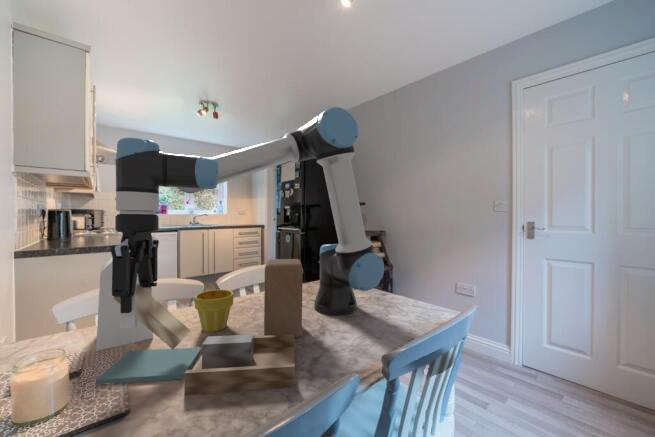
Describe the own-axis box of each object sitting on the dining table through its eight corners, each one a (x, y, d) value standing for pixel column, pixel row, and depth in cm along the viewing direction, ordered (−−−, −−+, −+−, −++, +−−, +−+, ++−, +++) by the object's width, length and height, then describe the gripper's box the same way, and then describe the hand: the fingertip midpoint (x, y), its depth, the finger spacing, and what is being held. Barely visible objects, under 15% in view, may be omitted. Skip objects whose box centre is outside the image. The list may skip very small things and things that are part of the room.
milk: (99, 333, 74) (99, 238, 73) (149, 323, 81) (150, 237, 80) (96, 351, 64) (96, 242, 64) (153, 338, 71) (153, 240, 71)
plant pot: (219, 337, 72) (220, 300, 72) (186, 333, 74) (186, 298, 74) (239, 322, 82) (240, 290, 82) (209, 319, 84) (210, 288, 84)
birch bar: (182, 338, 61) (190, 330, 61) (172, 349, 56) (181, 340, 56) (128, 291, 59) (136, 282, 60) (113, 298, 54) (122, 289, 55)
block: (302, 338, 72) (302, 264, 72) (263, 341, 70) (264, 265, 70) (299, 323, 82) (300, 258, 81) (266, 325, 80) (266, 258, 80)
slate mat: (202, 351, 64) (202, 347, 64) (183, 379, 54) (183, 374, 54) (129, 355, 62) (129, 350, 62) (95, 384, 51) (95, 379, 51)
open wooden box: (294, 350, 65) (294, 323, 65) (294, 387, 51) (295, 352, 51) (208, 355, 63) (208, 326, 63) (184, 395, 49) (184, 358, 49)
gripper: (142, 213, 66) (141, 307, 66) (86, 212, 48) (85, 342, 48) (174, 213, 67) (173, 307, 67) (131, 213, 49) (130, 340, 49)
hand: (136, 321), depth 57 cm, fingers closed on birch bar, 5 cm apart
